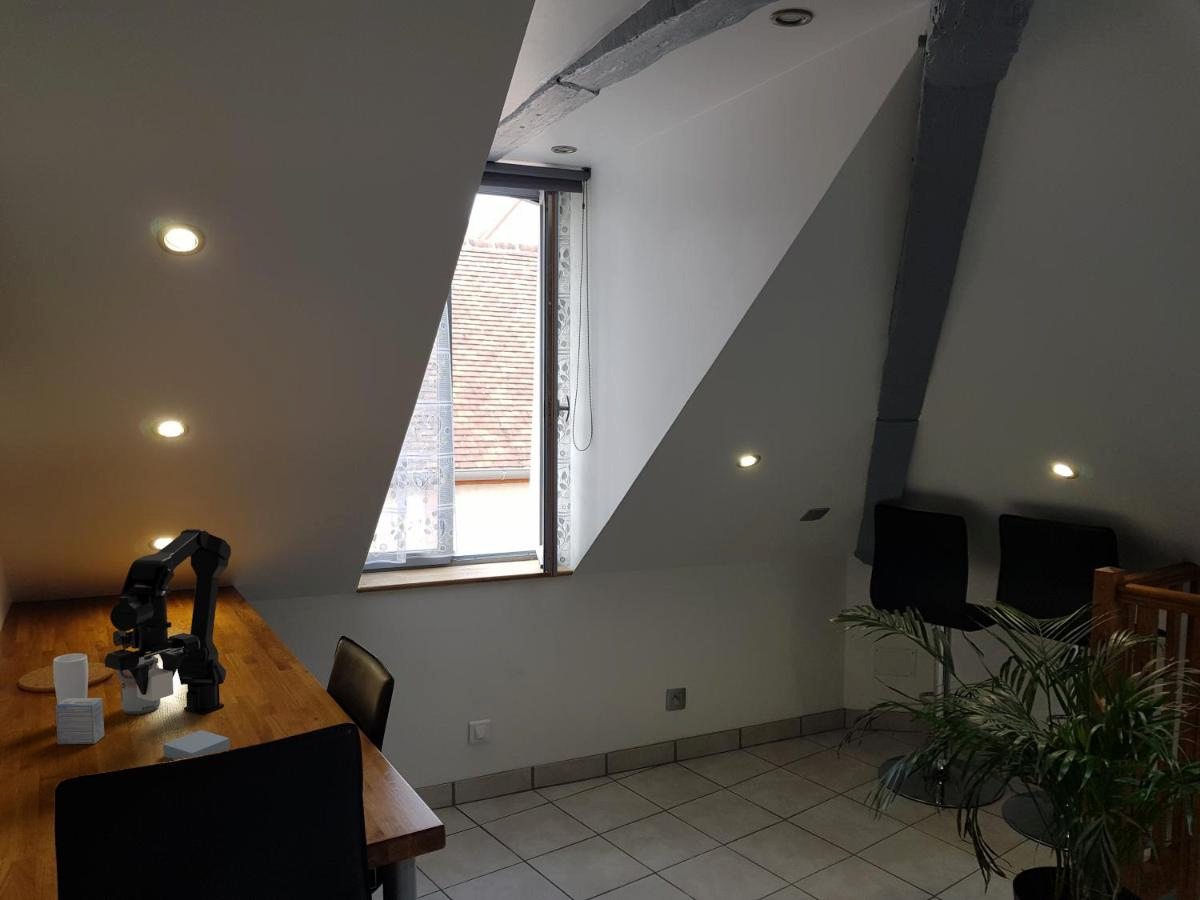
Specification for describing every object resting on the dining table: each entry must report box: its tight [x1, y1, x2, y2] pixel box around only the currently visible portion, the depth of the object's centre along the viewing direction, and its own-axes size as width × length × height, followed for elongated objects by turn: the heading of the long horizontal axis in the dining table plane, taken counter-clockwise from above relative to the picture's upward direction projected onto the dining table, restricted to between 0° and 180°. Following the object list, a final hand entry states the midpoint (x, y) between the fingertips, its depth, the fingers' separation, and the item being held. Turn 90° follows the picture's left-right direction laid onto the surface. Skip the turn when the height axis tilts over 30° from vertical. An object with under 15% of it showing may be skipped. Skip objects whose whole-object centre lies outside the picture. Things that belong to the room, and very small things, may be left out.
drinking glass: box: [52, 653, 89, 705], centre depth 218 cm, size 7×7×15 cm
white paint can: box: [116, 655, 161, 715], centre depth 227 cm, size 9×8×12 cm
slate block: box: [162, 729, 231, 761], centre depth 202 cm, size 9×9×3 cm
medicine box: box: [55, 697, 105, 745], centre depth 208 cm, size 8×4×9 cm, turn 92°
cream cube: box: [137, 667, 174, 701], centre depth 207 cm, size 5×5×5 cm
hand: (155, 690), depth 207 cm, fingers closed on cream cube, 5 cm apart
